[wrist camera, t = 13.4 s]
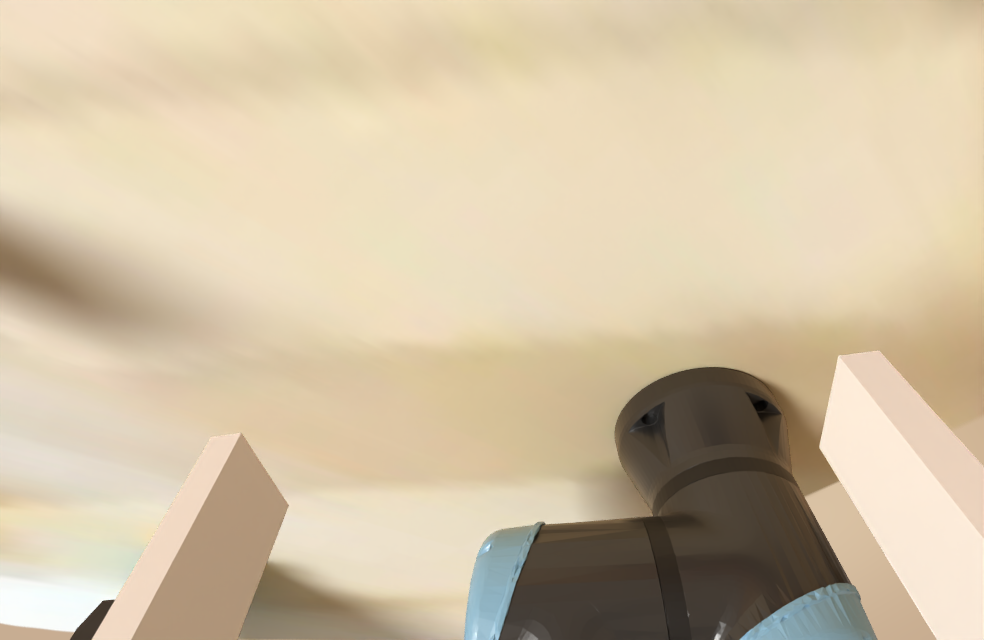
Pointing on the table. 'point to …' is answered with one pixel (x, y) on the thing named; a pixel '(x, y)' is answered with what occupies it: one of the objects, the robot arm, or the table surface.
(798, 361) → the table surface
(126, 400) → the table surface
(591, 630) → the robot arm
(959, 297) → the table surface
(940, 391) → the table surface
